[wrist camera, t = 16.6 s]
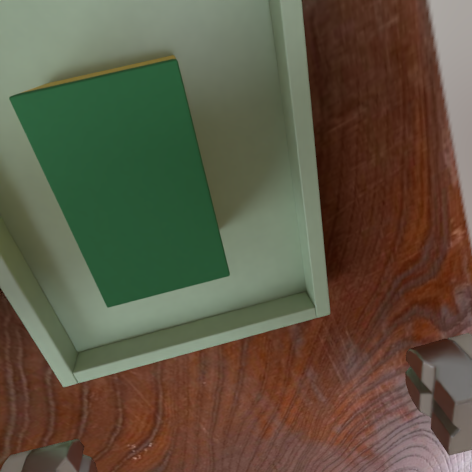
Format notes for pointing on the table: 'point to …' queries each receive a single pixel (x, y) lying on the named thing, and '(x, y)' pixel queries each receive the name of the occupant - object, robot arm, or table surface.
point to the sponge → (128, 177)
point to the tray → (215, 165)
